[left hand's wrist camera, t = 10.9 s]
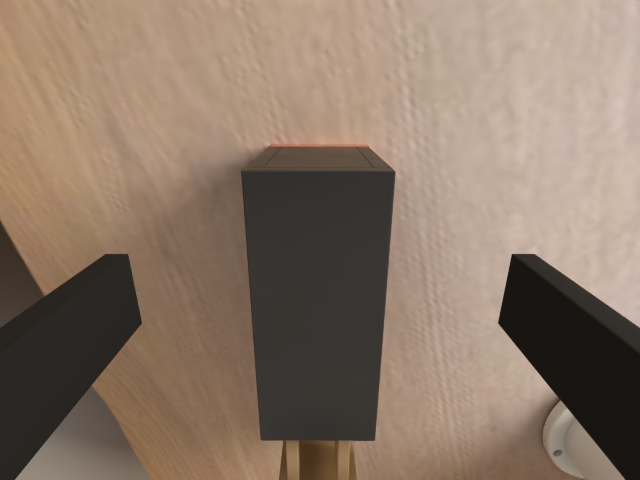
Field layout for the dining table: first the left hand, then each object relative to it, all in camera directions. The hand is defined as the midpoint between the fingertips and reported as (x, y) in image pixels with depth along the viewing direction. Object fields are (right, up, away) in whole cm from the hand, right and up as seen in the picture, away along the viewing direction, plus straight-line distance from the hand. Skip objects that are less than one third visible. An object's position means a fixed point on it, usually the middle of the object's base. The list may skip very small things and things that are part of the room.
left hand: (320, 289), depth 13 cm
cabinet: (0, +1, +16) cm, 16 cm away
